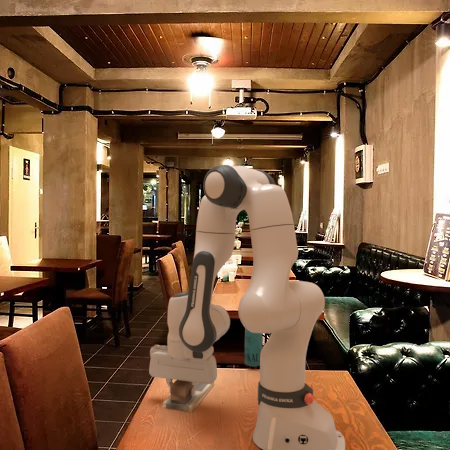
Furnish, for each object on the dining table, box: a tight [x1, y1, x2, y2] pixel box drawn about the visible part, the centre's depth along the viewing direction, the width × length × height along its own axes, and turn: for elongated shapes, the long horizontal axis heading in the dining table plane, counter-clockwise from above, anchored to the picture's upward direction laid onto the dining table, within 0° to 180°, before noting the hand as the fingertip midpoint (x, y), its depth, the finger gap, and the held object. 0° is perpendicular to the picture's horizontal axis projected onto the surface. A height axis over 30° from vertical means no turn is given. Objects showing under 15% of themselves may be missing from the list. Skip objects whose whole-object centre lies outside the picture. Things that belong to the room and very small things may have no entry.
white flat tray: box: [162, 381, 215, 413], centre depth 137 cm, size 9×20×2 cm, turn 163°
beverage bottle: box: [243, 327, 264, 367], centre depth 160 cm, size 6×7×20 cm
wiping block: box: [170, 380, 194, 405], centre depth 131 cm, size 4×7×5 cm, turn 163°
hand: (182, 394), depth 131 cm, fingers closed on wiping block, 4 cm apart
